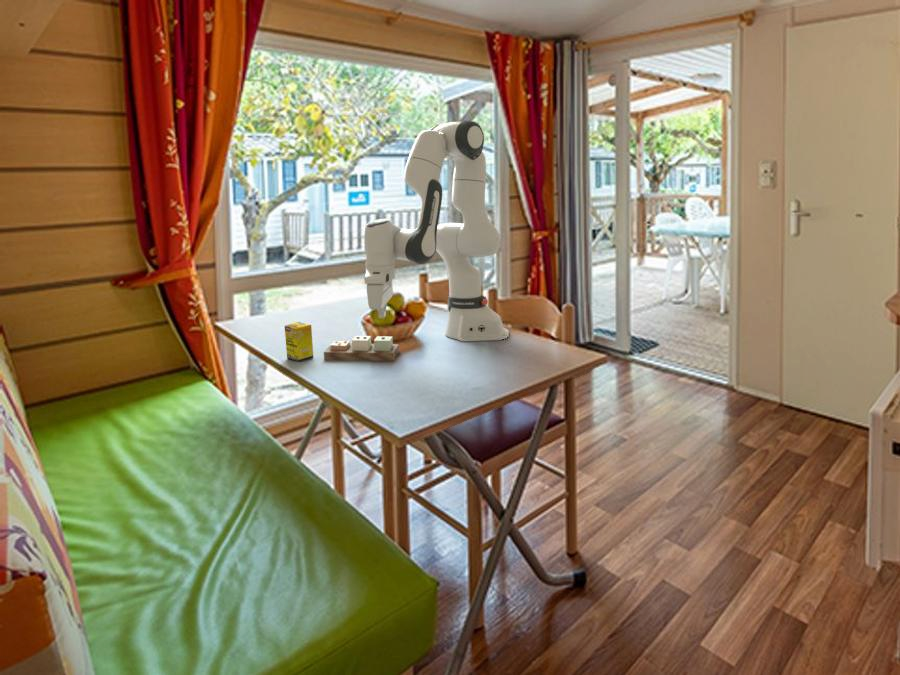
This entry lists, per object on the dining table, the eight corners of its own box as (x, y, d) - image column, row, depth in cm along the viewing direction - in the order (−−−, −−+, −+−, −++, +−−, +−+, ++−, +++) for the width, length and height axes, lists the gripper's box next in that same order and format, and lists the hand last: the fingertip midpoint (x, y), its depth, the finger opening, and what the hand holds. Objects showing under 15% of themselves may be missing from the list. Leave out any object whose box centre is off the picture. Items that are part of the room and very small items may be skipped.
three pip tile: (350, 353, 202) (349, 340, 201) (346, 357, 198) (345, 344, 196) (335, 352, 203) (334, 340, 202) (331, 357, 198) (330, 344, 197)
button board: (399, 351, 203) (398, 344, 203) (393, 361, 194) (393, 353, 193) (332, 350, 205) (332, 343, 205) (324, 359, 196) (323, 352, 195)
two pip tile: (371, 348, 201) (370, 335, 200) (368, 352, 196) (367, 339, 195) (356, 347, 202) (355, 335, 201) (352, 352, 197) (351, 339, 196)
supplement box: (286, 359, 197) (283, 325, 194) (301, 354, 202) (299, 321, 199) (298, 362, 194) (296, 328, 191) (313, 357, 198) (311, 324, 195)
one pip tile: (393, 348, 201) (392, 335, 199) (390, 353, 196) (389, 339, 195) (377, 348, 201) (377, 335, 200) (374, 352, 196) (373, 339, 195)
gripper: (377, 267, 202) (379, 309, 206) (362, 279, 183) (365, 325, 186) (396, 267, 201) (398, 309, 205) (384, 279, 182) (386, 325, 186)
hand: (382, 317), depth 196 cm, fingers closed
